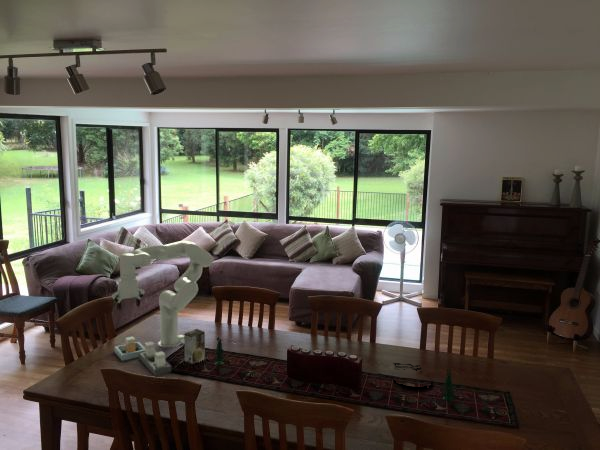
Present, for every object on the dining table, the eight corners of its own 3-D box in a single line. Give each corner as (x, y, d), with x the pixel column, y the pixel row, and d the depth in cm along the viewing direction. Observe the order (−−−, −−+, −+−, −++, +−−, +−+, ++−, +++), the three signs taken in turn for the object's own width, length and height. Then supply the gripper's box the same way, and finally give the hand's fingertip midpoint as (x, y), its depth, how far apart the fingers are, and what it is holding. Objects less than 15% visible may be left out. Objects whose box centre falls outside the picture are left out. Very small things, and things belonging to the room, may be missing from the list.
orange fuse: (133, 352, 275) (132, 336, 273) (135, 354, 271) (135, 338, 270) (125, 353, 272) (125, 337, 271) (128, 356, 269) (127, 340, 268)
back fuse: (152, 357, 268) (152, 341, 266) (154, 360, 264) (154, 343, 263) (144, 359, 265) (144, 342, 264) (147, 361, 262) (147, 345, 261)
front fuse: (162, 368, 256) (162, 351, 254) (165, 371, 252) (165, 354, 251) (154, 369, 253) (154, 353, 252) (157, 372, 250) (157, 355, 249)
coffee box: (196, 356, 273) (196, 328, 270) (205, 360, 269) (205, 331, 266) (184, 362, 265) (183, 333, 263) (192, 365, 262) (192, 336, 259)
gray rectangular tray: (154, 356, 271) (154, 349, 270) (171, 373, 252) (171, 366, 251) (139, 360, 266) (139, 353, 265) (154, 377, 247) (154, 369, 247)
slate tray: (138, 348, 281) (138, 341, 280) (146, 356, 270) (146, 349, 270) (114, 353, 273) (114, 346, 273) (121, 362, 263) (121, 355, 262)
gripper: (141, 273, 273) (142, 303, 276) (109, 277, 263) (110, 308, 266) (146, 276, 267) (147, 307, 270) (113, 280, 257) (114, 312, 260)
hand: (128, 307), depth 268 cm, fingers open, 9 cm apart
